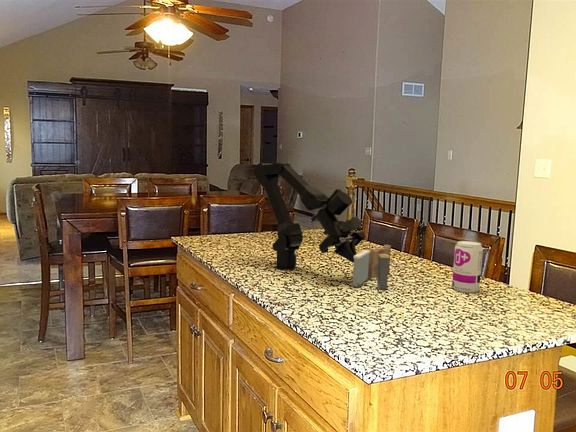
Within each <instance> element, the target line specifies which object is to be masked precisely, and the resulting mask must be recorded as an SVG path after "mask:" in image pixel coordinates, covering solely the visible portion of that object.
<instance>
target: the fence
mask: <svg viewBox="0 0 576 432" xmlns="http://www.w3.org/2000/svg"><path fill="white" fill-rule="evenodd" d="M391 249H392V245H390V244H383V248H379V249H378V250H375V249H374V248H367V247H365V248H364V249H363V251H364V250H370V253H369V267H368V279H367V280H366V281H370V280H372V279H375V278H378V264H379V256H378V254H388V255H389V256H390V258H389V265H388V275H389V274H390V265H391V264H390V263H391Z"/></svg>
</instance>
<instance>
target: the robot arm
mask: <svg viewBox="0 0 576 432" xmlns="http://www.w3.org/2000/svg"><path fill="white" fill-rule="evenodd" d="M253 175H254V178H255V179H256V181H257V183H258V184H259V185H260V186H261V187H262V188H263V189H264V190H265V191H264V192H265V194H266V196H267V198H268V201H269V205H270V207H271V209H272V212H273V215H274V218H275V220H276V223H277V233H276V234H277V235H276V236H277V239H276V240H275V241H274V242H273V244H272V245H271V246H272V251H275V252H276V265H275V266H274V267H275V269H280V270H281V269H282V270H294V269H295V268H296V267H297V258H298V257H297V256H298V254H297V253H296V251H298V250H300V247H301V244H302V243H303V240H304V236H303V234H304V232H303V230H302V229H301V225H300V223H299V222H297V223H296V222H293V221H292V218H291V216H290V213H289V211H288V208H287V205H286V203H285V201H284V197H283V195H282V192H281V190H280V187H279V179H280V177H281V178H283V180H284V181H285V182H286V183H287V184H288V185H289V186H290V187H291V188H292V189H293V190H294V192H296V193H297V194H298V196H299V198H300V202H301V203H302V205H303V207H304V208H305V209H306V210H307V211H317V212H316V213H315V212H314V213H312V217H311V222H312V223H313V222H315V223H316V222H318V223H319V224H320V226H321V227H322V229H323V230H324V231H323V232H322V233H323V234H324V235H323V236H325V238H324V239H323V240H322V241H321V242H320V243H319V244H318V245H319V246H318V249H319V251H320V252H321V254H326V253H328V252H329V248H330V247H334V251H333V253H334V254H336V255H339V256H340V257H343V258H344V259H346V260H348V261H349V262H351V263H353V264H354V256H355V255H356V254H358V253H357V249H356V247H357V246H358V245H359V244H360V243H362V241H363V240H364V239H365V238H366V237H367V236H366V234H365V233H364V232H363V231H360V230H358V231H354V230H356V229H361V228H362V227H361V226H362V223H363V222H362V220H360V218H359V217H358V216H353V217H352V218H350V219H347V220H344V221H343V220H339V218H338V217H337V216H341V215H342V214H343V213H345V212H346V211H347V209H348V208H349V207H350V206H351V205H352V204H353V199H352V197H351V196H350V195H348V194H347V193H346V192H344V191H342V189H341V188H337V189H336V188H335V190H334V191H333V192H332V194H331V195H330V196H327V195H326V194H325V193H324V192H323V191H321V190H319V189H318V188H315V187H313V186H311V185H310V184H309V183H308V182H307V181H306V180H305V179H304V178H303V177H302V176H301V175H300V174H299V173H298V172H297V171H296V170H295V169H294V168H293V167H292V166H291V163H289V162H286V161H283V162H277V163H257V164H256V165H255V166H254V170H253Z"/></svg>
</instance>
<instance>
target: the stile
mask: <svg viewBox="0 0 576 432" xmlns="http://www.w3.org/2000/svg"><path fill="white" fill-rule="evenodd" d="M378 256H379V264H378V277H377V283H376V288H377V289H378V290H388V279H389V278H388V277H389V274H388V265H389V258H390V259H391V255H390V256H389V255H388V254H378Z"/></svg>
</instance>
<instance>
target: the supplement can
mask: <svg viewBox="0 0 576 432" xmlns="http://www.w3.org/2000/svg"><path fill="white" fill-rule="evenodd" d="M483 253H484V248H483V246H482V243H481V242H478V241H470V240H458V241H457V243H456V244H455V246H454V255H453V258H454V259H453V268H452V270H453V271H452V282H451V286H452V288H453V290H455V291H456V292H461V293H469V294H470V293H471V294H472V293H473V294H475V293H477V292H478V291H479V290H480V288H481V287H480V285H481V278H482V277H481V276H482V275H481V274H482V267H483V266H482V264H483Z"/></svg>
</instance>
